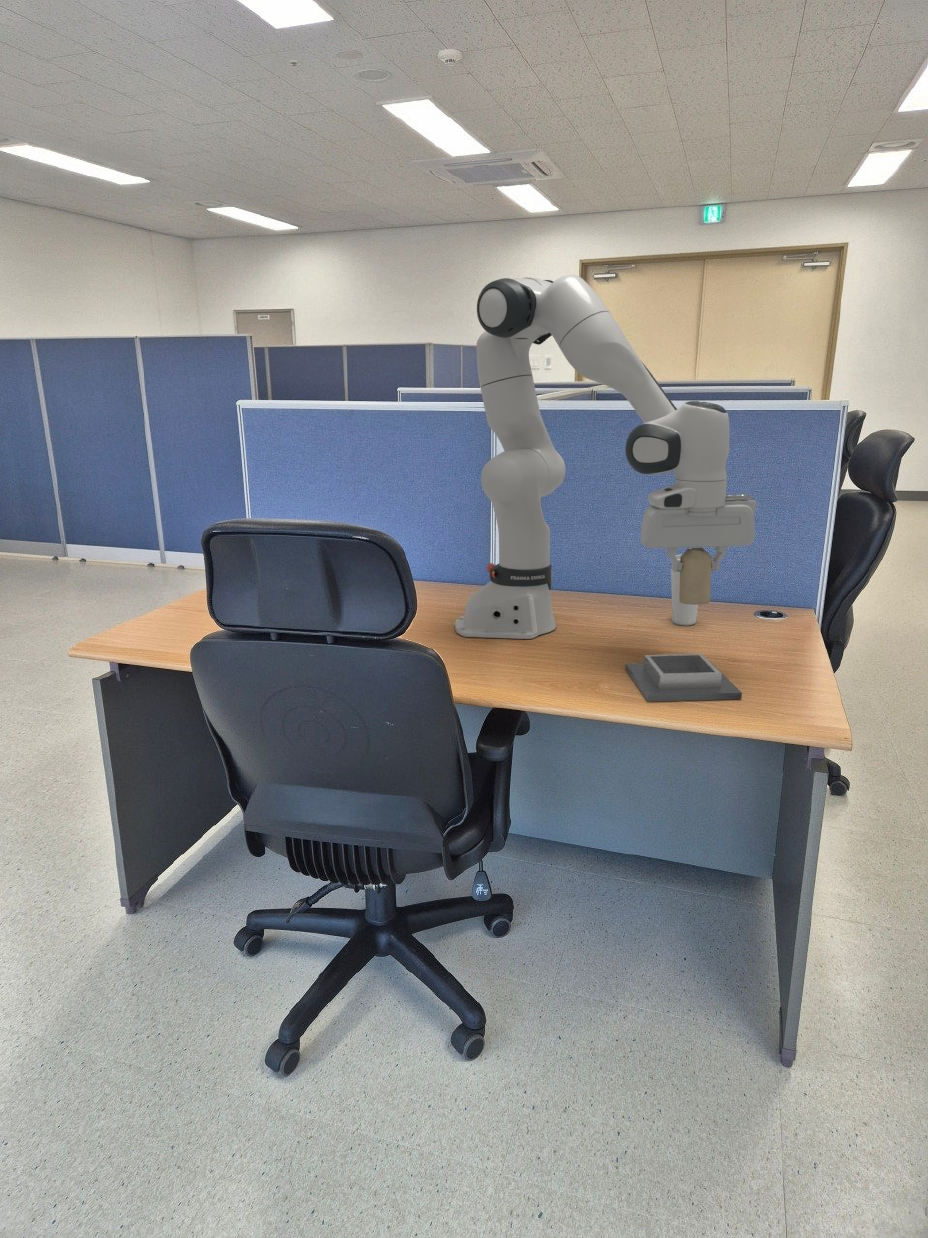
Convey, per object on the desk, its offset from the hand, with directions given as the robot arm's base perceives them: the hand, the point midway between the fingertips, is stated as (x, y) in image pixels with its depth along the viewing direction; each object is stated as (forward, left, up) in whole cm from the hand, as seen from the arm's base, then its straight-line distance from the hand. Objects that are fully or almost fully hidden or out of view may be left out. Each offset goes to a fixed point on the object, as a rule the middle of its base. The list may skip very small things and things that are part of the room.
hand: (695, 570), depth 144 cm
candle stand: (-5, -10, -18) cm, 21 cm away
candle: (0, 0, -6) cm, 6 cm away
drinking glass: (+7, +27, -19) cm, 34 cm away
